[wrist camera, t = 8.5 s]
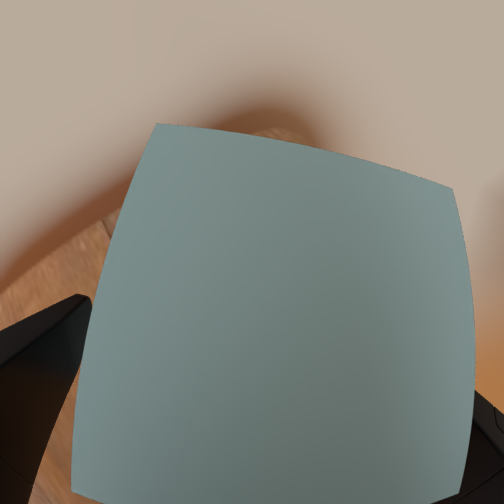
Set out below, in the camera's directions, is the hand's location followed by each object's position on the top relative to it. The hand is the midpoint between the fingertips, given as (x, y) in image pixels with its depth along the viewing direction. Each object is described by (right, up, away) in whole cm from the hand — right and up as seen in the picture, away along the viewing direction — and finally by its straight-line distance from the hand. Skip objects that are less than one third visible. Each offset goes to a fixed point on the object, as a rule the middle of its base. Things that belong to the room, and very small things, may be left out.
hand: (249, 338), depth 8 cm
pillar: (-1, -4, +8) cm, 9 cm away
